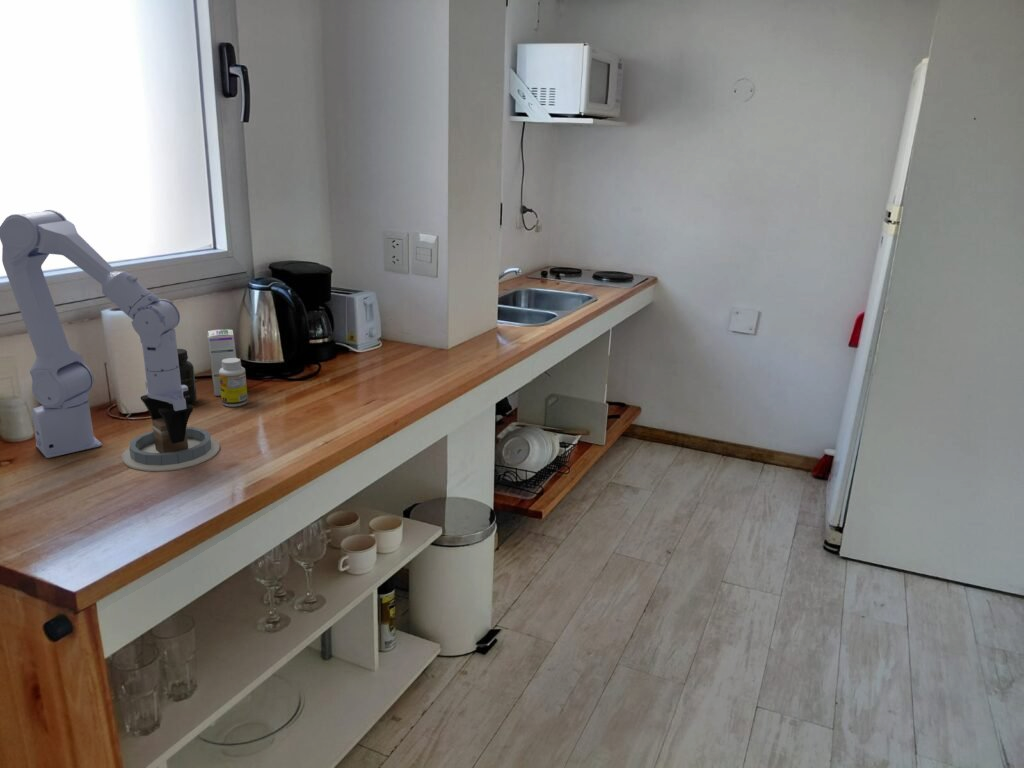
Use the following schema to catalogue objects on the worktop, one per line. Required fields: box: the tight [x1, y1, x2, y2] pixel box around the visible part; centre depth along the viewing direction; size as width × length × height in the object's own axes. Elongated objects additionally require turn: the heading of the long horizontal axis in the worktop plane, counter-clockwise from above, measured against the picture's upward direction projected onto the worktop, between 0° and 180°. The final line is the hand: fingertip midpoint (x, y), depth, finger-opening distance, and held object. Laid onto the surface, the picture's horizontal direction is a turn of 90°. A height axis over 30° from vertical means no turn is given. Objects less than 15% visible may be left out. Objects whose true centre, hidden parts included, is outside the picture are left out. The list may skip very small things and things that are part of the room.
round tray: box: [121, 426, 221, 472], centre depth 144 cm, size 17×17×2 cm
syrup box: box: [207, 328, 238, 397], centre depth 177 cm, size 6×6×14 cm
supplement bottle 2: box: [219, 357, 249, 408], centre depth 170 cm, size 6×6×10 cm
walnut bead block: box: [151, 418, 188, 453], centre depth 144 cm, size 5×5×6 cm
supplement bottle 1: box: [177, 348, 198, 406], centre depth 169 cm, size 7×7×12 cm
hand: (170, 435), depth 144 cm, fingers open, 7 cm apart
